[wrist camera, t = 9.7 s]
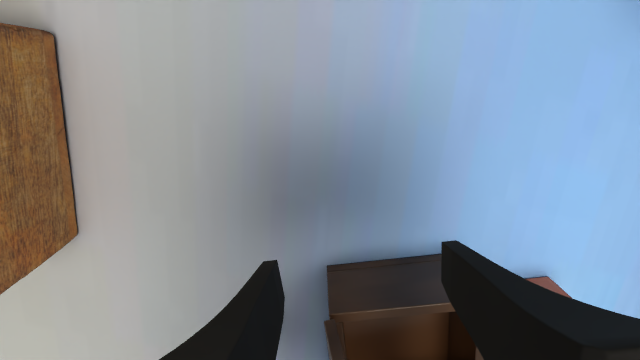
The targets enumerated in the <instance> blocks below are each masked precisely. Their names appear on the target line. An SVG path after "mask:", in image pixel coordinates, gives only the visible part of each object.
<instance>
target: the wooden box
mask: <svg viewBox="0 0 640 360" xmlns="http://www.w3.org/2000/svg"><path fill="white" fill-rule="evenodd" d="M76 235H77V225H76V217H75V209H74V197H73V190H72V182H71V173H70V166H69V159H68V150H67V143H66V136H65V128H64V120H63V111H62V103H61V94H60V86H59V80H58V71H57V63H56V54H55V45H54V37H53V35H52V34H51V33H50V32H47V31H44V30H38V29H34V28H28V27H22V26H16V25H10V24H3V23H0V294H2V293H3V292H4V291H6V290H7V289H8V288H10V287H11V286H12V285H13V284H15V283H16V282H18V281H19V280H20V279H22V278H23V277H25V276H26V275H28V274H29V273H30V272H31V271H33V270H34V269H36V268H37V267H38V266H40V265H41V264H42V263H43V262H45V261H46V260H47V259H48V258H50V257H51V256H52V255H54V254H55V253H56V252H57V251H59V250H60V249H61V248H63V247H64V246H65V245H66V244H67V243H69V242H70V241H71V240H72V239H73V238H74V237H75V236H76Z"/></svg>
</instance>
